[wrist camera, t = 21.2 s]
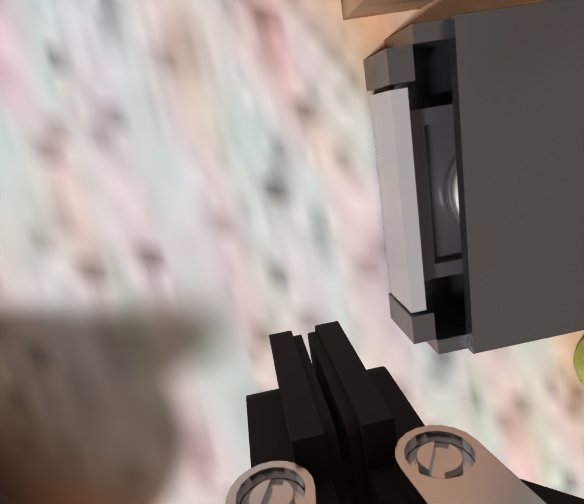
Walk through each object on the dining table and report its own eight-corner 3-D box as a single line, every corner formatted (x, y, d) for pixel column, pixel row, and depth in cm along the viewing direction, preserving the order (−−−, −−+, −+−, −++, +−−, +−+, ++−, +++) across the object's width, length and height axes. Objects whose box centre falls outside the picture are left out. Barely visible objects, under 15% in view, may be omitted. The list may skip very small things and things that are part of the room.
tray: (369, 95, 30) (390, 90, 26) (564, 64, 31) (611, 54, 27) (390, 292, 33) (411, 312, 30) (563, 257, 35) (605, 272, 31)
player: (361, 43, 29) (390, 24, 24) (580, 10, 31) (652, -15, 26) (392, 330, 35) (421, 365, 30) (578, 291, 36) (637, 318, 31)
